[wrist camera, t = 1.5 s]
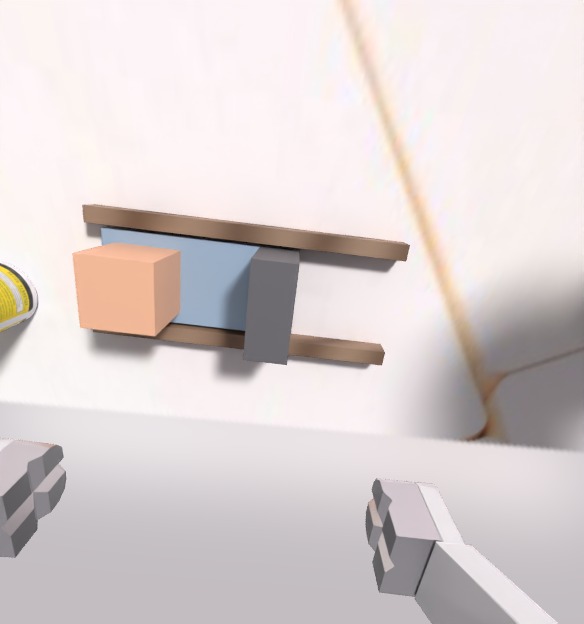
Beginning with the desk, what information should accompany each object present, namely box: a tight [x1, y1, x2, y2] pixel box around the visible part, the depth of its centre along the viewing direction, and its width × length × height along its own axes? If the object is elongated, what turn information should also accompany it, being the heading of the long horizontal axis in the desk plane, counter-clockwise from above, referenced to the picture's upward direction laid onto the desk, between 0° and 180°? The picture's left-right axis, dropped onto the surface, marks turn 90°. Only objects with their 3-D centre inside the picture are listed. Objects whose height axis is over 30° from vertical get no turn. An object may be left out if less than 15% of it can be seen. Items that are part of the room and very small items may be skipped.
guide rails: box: [82, 205, 410, 365], centre depth 27 cm, size 24×10×2 cm, turn 83°
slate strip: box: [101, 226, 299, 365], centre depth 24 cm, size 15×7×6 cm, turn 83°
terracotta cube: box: [73, 243, 181, 336], centre depth 24 cm, size 5×5×5 cm
